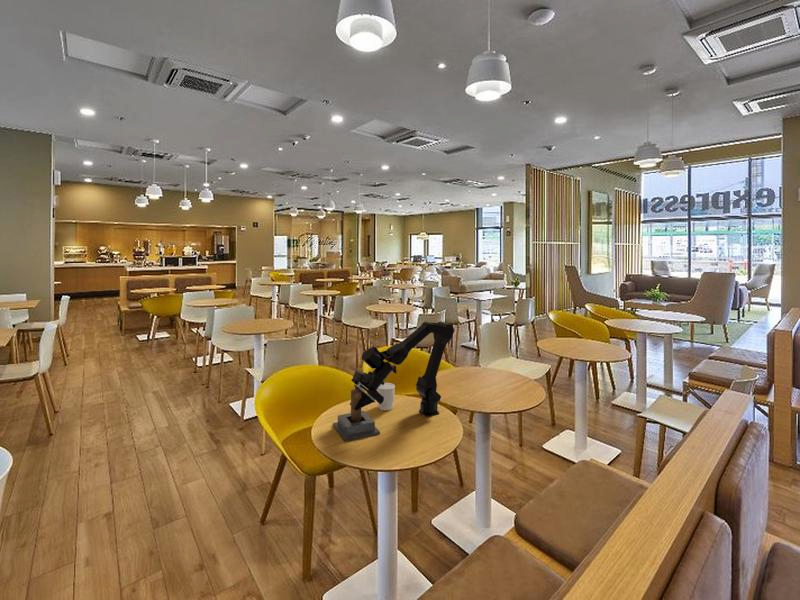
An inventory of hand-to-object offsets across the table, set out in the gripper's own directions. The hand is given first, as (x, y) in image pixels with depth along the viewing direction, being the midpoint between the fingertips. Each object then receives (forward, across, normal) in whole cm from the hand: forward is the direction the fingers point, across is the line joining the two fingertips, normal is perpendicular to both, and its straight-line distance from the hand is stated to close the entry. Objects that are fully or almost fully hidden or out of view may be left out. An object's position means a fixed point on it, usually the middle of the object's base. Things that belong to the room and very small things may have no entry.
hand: (352, 407), depth 156 cm
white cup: (-8, -13, +22) cm, 27 cm away
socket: (+6, 0, +8) cm, 9 cm away
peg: (+4, 0, +6) cm, 7 cm away
